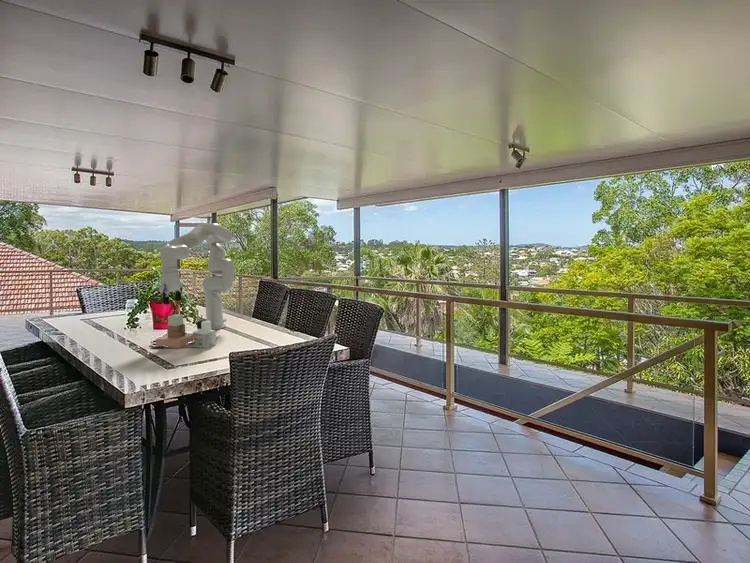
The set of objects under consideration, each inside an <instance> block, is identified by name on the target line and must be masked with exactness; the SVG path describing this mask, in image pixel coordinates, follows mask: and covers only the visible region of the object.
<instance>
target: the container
mask: <svg viewBox="0 0 750 563" xmlns="http://www.w3.org/2000/svg"><path fill="white" fill-rule="evenodd" d="M196 329H197V330H195V331H193V332H192V334H193V340H194V343H193V347H194V348H199V349H200V348H201V349H206V348H210V347H214V346H216V345H217V339H216V338H217V336H216V329H211V322H210V321H209V320H206V319H204V320H198V321H197V322H196Z"/></svg>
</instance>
